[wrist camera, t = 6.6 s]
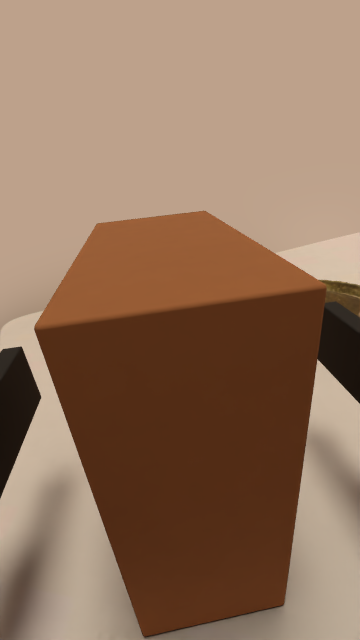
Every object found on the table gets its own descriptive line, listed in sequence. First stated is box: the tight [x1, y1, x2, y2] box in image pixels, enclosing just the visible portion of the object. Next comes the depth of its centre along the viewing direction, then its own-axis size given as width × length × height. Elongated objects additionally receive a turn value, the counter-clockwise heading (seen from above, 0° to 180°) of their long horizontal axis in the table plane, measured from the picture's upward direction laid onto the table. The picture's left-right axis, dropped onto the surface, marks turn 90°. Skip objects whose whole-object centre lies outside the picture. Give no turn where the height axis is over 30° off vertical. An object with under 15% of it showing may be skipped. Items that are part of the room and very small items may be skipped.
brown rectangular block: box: [34, 211, 327, 637], centre depth 12 cm, size 5×10×12 cm, turn 8°
